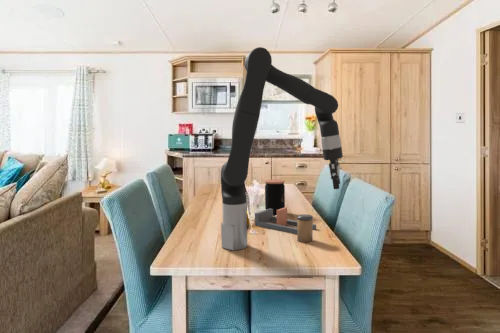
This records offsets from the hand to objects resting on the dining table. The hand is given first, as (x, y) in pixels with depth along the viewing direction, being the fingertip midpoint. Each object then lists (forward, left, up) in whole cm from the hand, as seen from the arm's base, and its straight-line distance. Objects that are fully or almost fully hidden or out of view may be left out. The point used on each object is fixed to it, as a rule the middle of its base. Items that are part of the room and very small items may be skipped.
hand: (337, 186), depth 129 cm
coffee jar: (+20, +45, -22) cm, 54 cm away
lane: (+1, +26, -22) cm, 34 cm away
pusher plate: (+1, +29, -21) cm, 36 cm away
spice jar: (-10, +9, -22) cm, 25 cm away
